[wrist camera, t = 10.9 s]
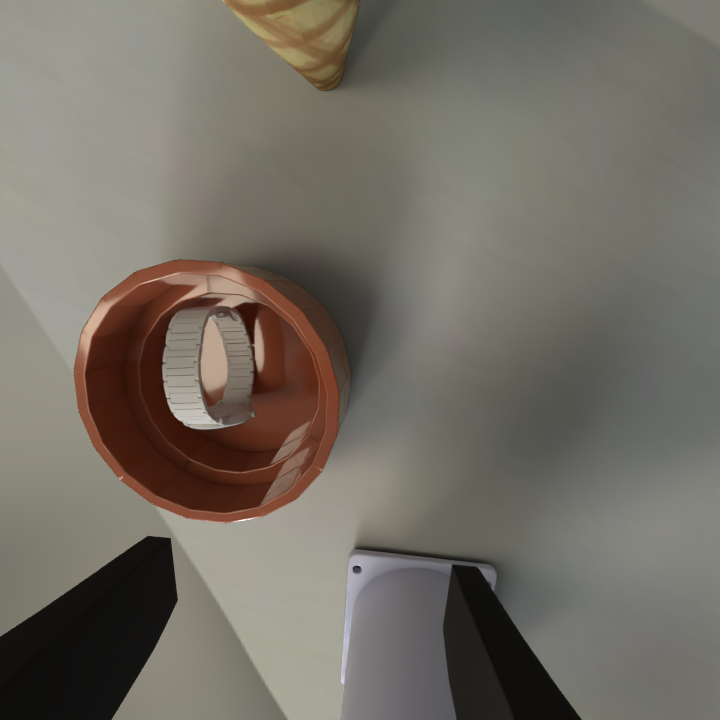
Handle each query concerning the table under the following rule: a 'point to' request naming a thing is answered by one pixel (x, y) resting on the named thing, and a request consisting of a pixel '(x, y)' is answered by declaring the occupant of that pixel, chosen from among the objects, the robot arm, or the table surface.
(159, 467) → the bowl
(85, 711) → the robot arm
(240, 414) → the wristwatch
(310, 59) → the ice cream cone
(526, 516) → the table surface
